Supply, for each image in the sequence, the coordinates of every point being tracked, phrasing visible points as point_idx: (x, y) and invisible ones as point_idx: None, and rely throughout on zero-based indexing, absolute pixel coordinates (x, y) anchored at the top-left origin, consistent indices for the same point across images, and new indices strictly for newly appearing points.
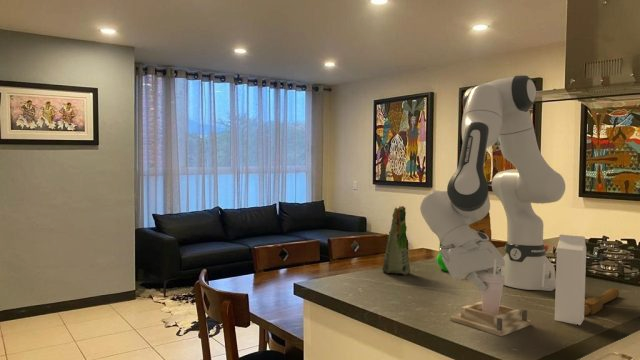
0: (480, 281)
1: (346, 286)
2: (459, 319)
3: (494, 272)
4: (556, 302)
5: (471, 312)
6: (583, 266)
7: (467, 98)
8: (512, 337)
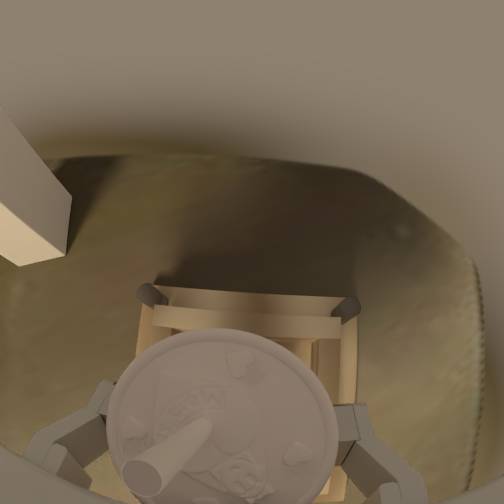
0: (383, 442)
1: None
2: None
3: (207, 429)
4: (34, 226)
5: None
6: None
7: None
8: (329, 274)
